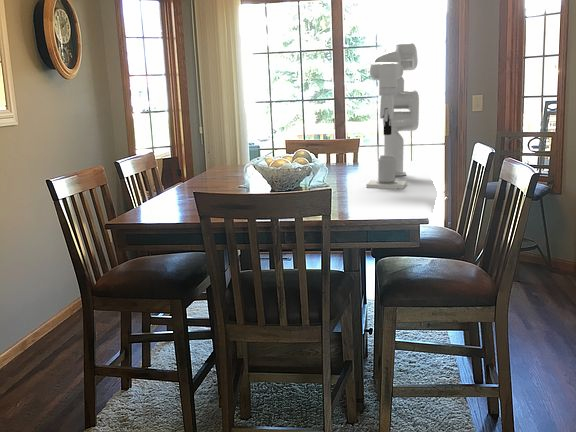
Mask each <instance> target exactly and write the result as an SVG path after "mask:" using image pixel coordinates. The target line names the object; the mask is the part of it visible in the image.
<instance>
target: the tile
mask: <svg viewBox="0 0 576 432" xmlns="http://www.w3.org/2000/svg"><path fill="white" fill-rule="evenodd" d="M406 186H407V181H406V180H395V181H394V182H393V183H380V182H379V181H378V180H370V181H369V182H368V183H366V185H365V187H366V188H367V189H369V188H370V189H397V188H403V189H404V188H405V187H406Z"/></svg>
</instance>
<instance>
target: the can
mask: <svg viewBox="0 0 576 432" xmlns="http://www.w3.org/2000/svg"><path fill="white" fill-rule="evenodd" d="M395 163H396V159H395V158H394V156H393V155H384V154H383V155H380V156H379V158H378V164H377V165H378V171H377V174H378V175H377V176H378V178H377V181H379V182H380V183H393V182H394V181H396V176H395Z"/></svg>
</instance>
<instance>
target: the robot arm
mask: <svg viewBox="0 0 576 432" xmlns="http://www.w3.org/2000/svg"><path fill="white" fill-rule="evenodd" d="M418 61H419V60H418V50H417V47H416V45H415V44H414V43H413V42H412V41H410V42H409V41H405V42H391V43H389V44H388V45H387V46H386V47H385V49H384V53H383V54H381V55H379V56H376V57H375V58H373V60H372V61H371V64H370V69H369V76H370V78H371V79H372V81H378V83H379V84H378V89H379V90H378V91H379V92H378V94H379V95H378V96H380V108H379V109H380V110H379V112H380V113H379V118H380V119H382V125H383V136H384V138H383V139H384V141H383V142H384V147H383V149H384V150H383V151H384V152H383V153H384V154H383V155H393V156H394V158H395V159H396V163H395V177H400V176H406V175H407V172H406V171H404V143H405V142H404V141H405V140H404V138H403V136H402V135H401V134H400V133H399V132H401V131H402V132H406V131H407V132H411V131H412V132H413V131H417V129H419V128H418V127H419V122H420V121H419V120H420V119H419V117H420V115H419V114H420V95H419V92H418V91H417V90H416V89H405V79H404V77H403V74H404V71H414V70H416V68H417V67H418ZM395 110H399V111H395ZM400 110H408V111H400Z"/></svg>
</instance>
